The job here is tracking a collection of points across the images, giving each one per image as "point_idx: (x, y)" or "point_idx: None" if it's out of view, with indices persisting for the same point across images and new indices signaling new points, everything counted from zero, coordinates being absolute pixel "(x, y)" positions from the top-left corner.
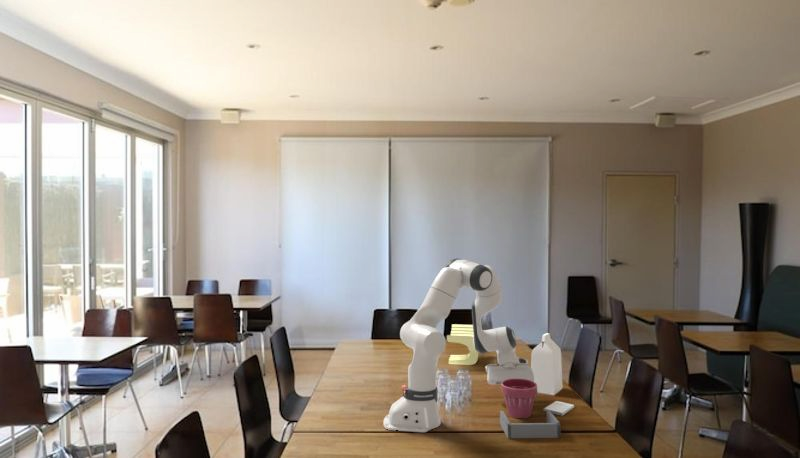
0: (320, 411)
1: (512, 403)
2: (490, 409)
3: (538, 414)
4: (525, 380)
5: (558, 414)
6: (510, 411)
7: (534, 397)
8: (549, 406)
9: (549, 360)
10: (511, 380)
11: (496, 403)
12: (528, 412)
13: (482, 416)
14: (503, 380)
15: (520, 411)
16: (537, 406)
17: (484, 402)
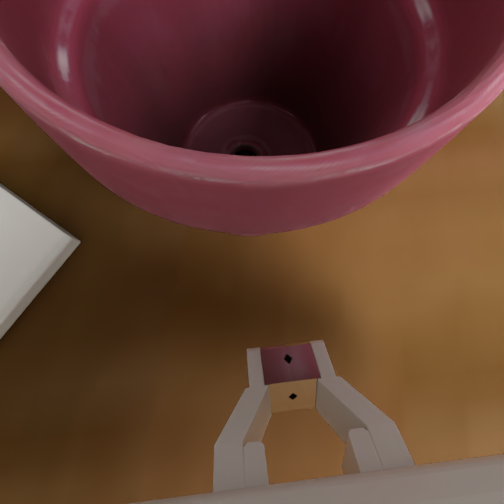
0: None
1: (316, 16)
2: (434, 240)
3: None
4: (86, 114)
5: (2, 185)
6: (314, 105)
7: (105, 36)
8: (12, 278)
9: None
10: (368, 144)
11: (397, 370)
12: (197, 91)
13: (473, 122)
14: (476, 462)
15: (252, 61)
16: (98, 329)
17: (490, 385)
